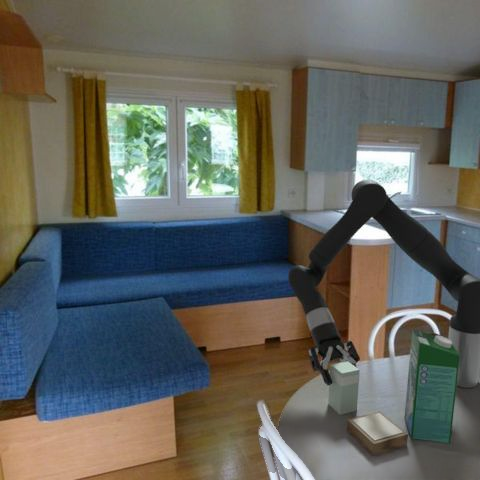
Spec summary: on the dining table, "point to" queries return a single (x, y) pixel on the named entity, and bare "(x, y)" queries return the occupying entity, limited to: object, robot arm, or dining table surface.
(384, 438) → the walnut podium
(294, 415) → the dining table surface
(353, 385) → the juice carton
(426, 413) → the milk carton
